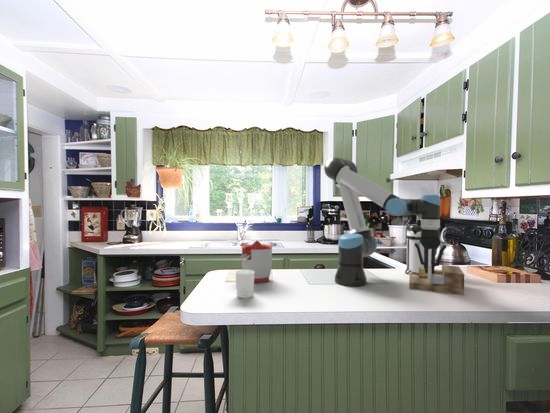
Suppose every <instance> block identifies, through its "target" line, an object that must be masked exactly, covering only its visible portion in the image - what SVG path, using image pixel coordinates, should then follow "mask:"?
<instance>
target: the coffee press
mask: <svg viewBox="0 0 550 413" xmlns="http://www.w3.org/2000/svg"><path fill="white" fill-rule="evenodd" d="M421 229H422V227H421V219H417V220H416V223H412V224H408V225H407V227H406V230H405V231H406V238H405V239H406V269H405V271H404V273H405V274H406V275H410V274H411V273H414V274H416V273H417V274H419V267H421V268H425V266H424V265H422V264H421V263H420V259H419V255H418V251H417V248H416V247H415V245H414V244H415V243H417V242H419V240H420V238H421ZM420 250H421V254H422V258H423V262H425V248H424V247H423V246H422V244H420ZM428 266H431V249H428Z"/></svg>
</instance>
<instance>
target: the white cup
mask: <svg viewBox="0 0 550 413" xmlns="http://www.w3.org/2000/svg"><path fill="white" fill-rule="evenodd" d="M254 273H255V272H254V271H253V270H242V269H239V270H236V271H235V285H236V286H235V287H236V297H238V298H239V299H250V298H252V297H254V288H255V282H254Z"/></svg>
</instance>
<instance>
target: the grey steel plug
mask: <svg viewBox="0 0 550 413" xmlns="http://www.w3.org/2000/svg"><path fill="white" fill-rule="evenodd" d="M431 284H440V285H445V276H444V275H436V274H431Z"/></svg>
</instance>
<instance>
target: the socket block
mask: <svg viewBox="0 0 550 413" xmlns="http://www.w3.org/2000/svg"><path fill="white" fill-rule="evenodd" d="M441 270H442V271H443V275H444V276H445V285H440V284H431V282H430V281H428V277H419V274H416V273H414V274H413V273H409V280H408V288H409V290H410V289H411V290H419V291H427V292H428V291H429V292H436V293H441V294H450V295H459V296H465V273H464V272H463V270H462V269H461V268H460V265H459V266H457V265H447V264H441Z"/></svg>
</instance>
